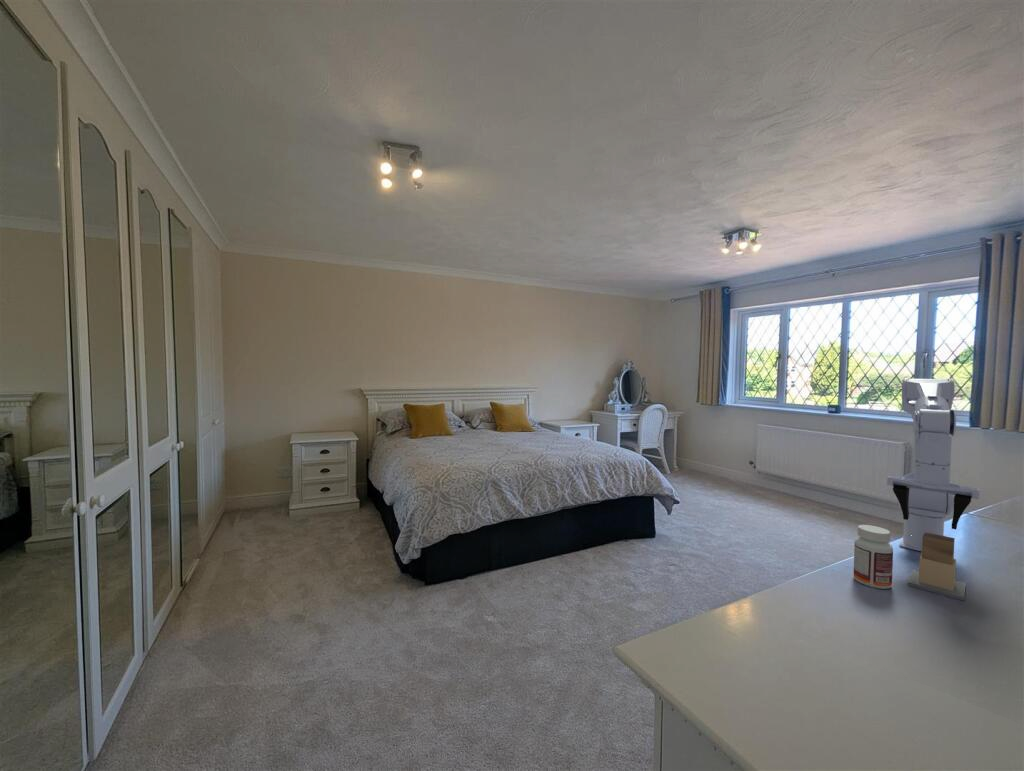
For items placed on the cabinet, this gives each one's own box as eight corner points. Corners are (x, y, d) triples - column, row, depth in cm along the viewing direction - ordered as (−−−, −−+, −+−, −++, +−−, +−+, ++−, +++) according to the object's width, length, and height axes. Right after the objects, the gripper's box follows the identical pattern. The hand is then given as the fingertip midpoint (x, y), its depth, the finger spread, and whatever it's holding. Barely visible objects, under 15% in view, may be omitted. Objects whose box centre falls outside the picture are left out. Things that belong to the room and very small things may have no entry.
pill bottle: (893, 583, 88) (895, 529, 88) (890, 593, 84) (892, 537, 84) (855, 572, 93) (857, 521, 92) (850, 582, 88) (852, 528, 88)
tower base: (912, 571, 94) (913, 546, 93) (965, 585, 88) (966, 559, 87) (907, 584, 88) (908, 558, 87) (963, 600, 82) (965, 572, 81)
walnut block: (923, 552, 91) (924, 531, 90) (953, 559, 87) (954, 538, 87) (921, 557, 88) (922, 536, 88) (952, 565, 84) (953, 543, 84)
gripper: (886, 459, 97) (883, 518, 98) (980, 471, 86) (977, 537, 87) (890, 456, 102) (888, 512, 102) (980, 466, 91) (977, 529, 91)
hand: (929, 523), depth 95 cm, fingers open, 7 cm apart
